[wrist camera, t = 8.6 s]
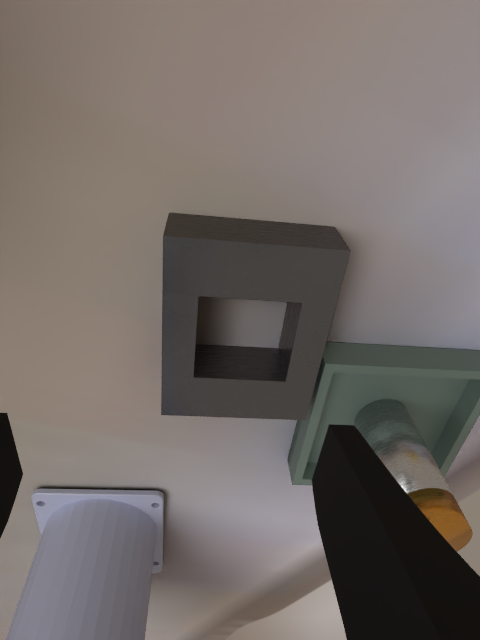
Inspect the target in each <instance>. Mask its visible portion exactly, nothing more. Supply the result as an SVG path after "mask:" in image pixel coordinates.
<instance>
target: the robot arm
mask: <svg viewBox="0 0 480 640" xmlns="http://www.w3.org/2000/svg"><path fill="white" fill-rule="evenodd" d="M22 475H23V472H22V469H21V465H20V461H19V457H18V453H17V449H16V446H15V442H14V438H13V434H12V430H11V426H10V423H9V419H8V415H7V413H0V538H1V535H2V533H3V531H4V529H5V526H6V524H7V522H8V519H9V516H10V513H11V510H12V507H13V504H14V501H15V498H16V495H17V492H18V488H19V485H20V482H21V479H22ZM312 486H313V493H314V501H315V508H316V515H317V521H318V526H319V530H320V535H321V539H322V542H323V546H324V550H325V554H326V558H327V562H328V566H329V570H330V574H331V578H332V582H333V585H334V589H335V593H336V597H337V601H338V605H339V609H340V613H341V616H342V620H343V624H344V628H345V633H346V637H347V640H480V576H479V575H477V573H476V572H475V571H474V570H473V569H472V568H471V567H470V566H469V565H468V564H467V563H466V562H465V561H464V559H463V558H462V557H461V556H460V555H459V554H458V553H457V552H456V551H455V549H454V548H453V547H452V546H451V545H450V544H449V543H448V542H447V540H446V539H445V538H444V537H443V536H442V535H441V534H440V533H439V531H438V530H437V529H436V528H435V527H434V526H433V524H432V523H431V522H430V521H429V520H428V519H427V517H426V516H425V515H424V514H423V513H422V511H421V510H420V509H419V508H418V506H417V505H416V504H415V503H414V502H413V500H412V499H411V498H410V497H409V495H408V494H407V493H406V492H405V491H404V489H403V488H402V487H401V485H400V484H399V483H398V482H397V480H396V479H395V478H394V477H393V475H392V474H391V473H390V471H389V470H388V469H387V467H386V466H385V465H384V464H383V462H382V461H381V460H380V458H379V457H378V456H377V454H376V453H375V452H374V450H373V449H372V448H371V446H370V445H369V444H368V442H367V441H366V440H365V438H364V437H363V436H362V434H361V433H360V432H359V431H358V429H357V428H356V427H355V426H354V425H334V424H329V426H328V429H327V433H326V436H325V439H324V442H323V445H322V449H321V452H320V455H319V458H318V462H317V465H316V468H315V471H314V474H313V478H312ZM31 498H32V502H33V506H34V510H35V514H36V518H37V522H38V526H39V530H40V534H41V539H40V542H39V545H38V548H37V551H36V554H35V556H34V559H33V562H32V565H31V568H30V571H29V574H28V577H27V580H26V582H25V585H24V588H23V591H22V594H21V597H20V600H19V603H18V606H17V608H16V611H15V614H14V617H13V620H12V623H11V626H10V629H9V632H8V634H7V637H6V640H145V631H146V623H147V614H148V605H149V596H150V587H151V578H152V574H158V573H160V572H162V568H163V516H164V495H163V493H162V492H160V491H150V490H93V489H36V490H34V492H33V494H32V497H31Z"/></svg>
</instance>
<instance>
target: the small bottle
mask: <svg viewBox="0 0 480 640" xmlns="http://www.w3.org/2000/svg"><path fill="white" fill-rule="evenodd" d="M354 424H355V427H356V428H357V429H358V431H359V432H360V433H361V434H362V436H363V437H364V438H365V440H366V441H367V442H368V444H369V445H370V446H371V448H372V449H373V450H374V452H375V453H376V454H377V456H378V457H379V458H380V460H381V461H382V462H383V464H384V465H385V466H386V467H387V469H388V470H389V471H390V473H391V474H392V475H393V477H394V478H395V479H396V480H397V482H398V483H399V484H400V485H401V487H402V488H403V489H404V491H405V492H406V493H407V494H408V495H409V497H410V498H411V499H412V500H413V502H414V503H415V504H416V505H417V506H418V508H419V509H420V510H421V511H422V513H423V514H424V515H425V516H426V517H427V519H428V520H429V521H430V522H431V523H432V524H433V526H434V527H435V528H436V529H437V530H438V531H439V533H440V534H441V535H442V536H443V537H444V538H445V539H446V540H447V542H448V543H449V544H450V545H451V546H452V547H453V548H454V549H455V551H456V552H457V551H458V550H460V549H462V548H463V547H464V546H465V545H466V544H467V543H468V542H469V541H470V539H471V537H472V530H471V528H470V526H469V524H468V522H467V520H466V518H465V516H464V514H463V513H462V511H461V509H460V507H459V505H458V503H457V501H456V499H455V498H454V496H453V494H452V492H451V490H450V488H449V486H448V484H447V483H446V481H445V479H444V477H443V475H442V473H441V471H440V470H439V468H438V466H437V464H436V462H435V460H434V458H433V456H432V455H431V453H430V451H429V449H428V447H427V445H426V443H425V442H424V440H423V438H422V436H421V434H420V432H419V430H418V428H417V427H416V425H415V423H414V421H413V419H412V417H411V415H410V413H409V412H408V410H407V408H406V406H405V405H404V404H403V403H401V402H400V401H397V400H393V399H381V400H377V401H374V402H371V403H369V404H367V405H366V406H364V407H363V408H362V409H361V410H360V411H359V412H358V413H357V415H356V417H355V422H354Z"/></svg>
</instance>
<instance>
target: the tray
mask: <svg viewBox="0 0 480 640" xmlns="http://www.w3.org/2000/svg"><path fill="white" fill-rule="evenodd" d="M381 399H393V400H397V401H400V402H401V403H403V404H404V405H405V406H406V408H407V410H408V412H409V413H410V415H411V417H412V419H413V421H414V423H415V425H416V427H417V428H418V430H419V432H420V434H421V436H422V438H423V440H424V442H425V443H426V445H427V447H428V449H429V451H430V453H431V455H432V456H433V458H434V460H435V462H436V464H437V466H438V468H439V470H440V471H441V473H442V475H443V477H444V476H445V475H446V473H447V471H448V469H449V468H450V466H451V464H452V462H453V461H454V459H455V457H456V455H457V454H458V452H459V450H460V448H461V447H462V445H463V443H464V441H465V440H466V438H467V436H468V434H469V432H470V431H471V429H472V427H473V425H474V424H475V422H476V420H477V418H478V417H479V415H480V350H464V349H446V348H428V347H410V346H392V345H374V344H356V343H338V342H326V345H325V349H324V353H323V356H322V360H321V364H320V368H319V371H318V375H317V379H316V383H315V386H314V390H313V394H312V398H311V401H310V405H309V409H308V413H307V416H306V420H297V424H296V428H295V432H294V436H293V440H292V444H291V448H290V452H289V456H288V464H289V470H290V475H291V481H292V485H312V478H313V474H314V471H315V468H316V465H317V462H318V458H319V455H320V452H321V449H322V445H323V442H324V439H325V436H326V433H327V429H328V426H329V424H334V425H354V426H355V424H354V422H355V417H356V415H357V413H358V412H359V411H360V410H361V409H362V408H363V407H364V406H366V405H367V404H369V403H371V402H374V401H377V400H381Z"/></svg>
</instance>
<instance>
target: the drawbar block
mask: <svg viewBox="0 0 480 640" xmlns="http://www.w3.org/2000/svg"><path fill="white" fill-rule="evenodd" d="M349 255H350V249H349V248H348V246H347V245H346V243H345V242H344V240H343V239H342V237H341V236H340V234H339V233H338V231H337V230H336V228H335V227H330V226H318V225H306V224H295V223H283V222H271V221H259V220H247V219H236V218H224V217H212V216H200V215H189V214H177V213H169V215H168V219H167V223H166V227H165V231H164V235H163V304H162V404H161V415H179V416H207V417H234V418H262V419H290V420H306V416H307V413H308V409H309V405H310V401H311V398H312V394H313V390H314V386H315V383H316V379H317V375H318V371H319V368H320V364H321V360H322V356H323V353H324V349H325V345H326V341H327V338H328V334H329V330H330V326H331V323H332V319H333V315H334V311H335V308H336V304H337V300H338V296H339V293H340V289H341V285H342V281H343V277H344V274H345V270H346V266H347V262H348V259H349ZM198 296H204V297H219V298H235V299H250V300H265V301H281V302H287V307H286V312H285V318H284V323H283V328H282V333H281V338H280V343H279V349H271V348H252V347H233V346H215V345H196V329H197V312H198Z"/></svg>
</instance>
